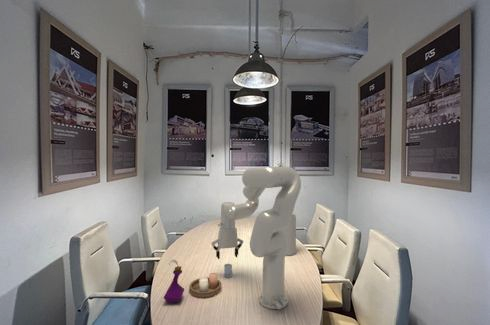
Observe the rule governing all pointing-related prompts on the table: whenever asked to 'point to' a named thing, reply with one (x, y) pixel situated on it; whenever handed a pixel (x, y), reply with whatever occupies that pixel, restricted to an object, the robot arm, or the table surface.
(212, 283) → the bead terracotta
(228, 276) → the bead slate
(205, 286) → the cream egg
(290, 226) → the cylinder vase
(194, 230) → the table surface
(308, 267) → the table surface
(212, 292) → the groove tray
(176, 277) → the perfume bottle
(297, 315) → the table surface
